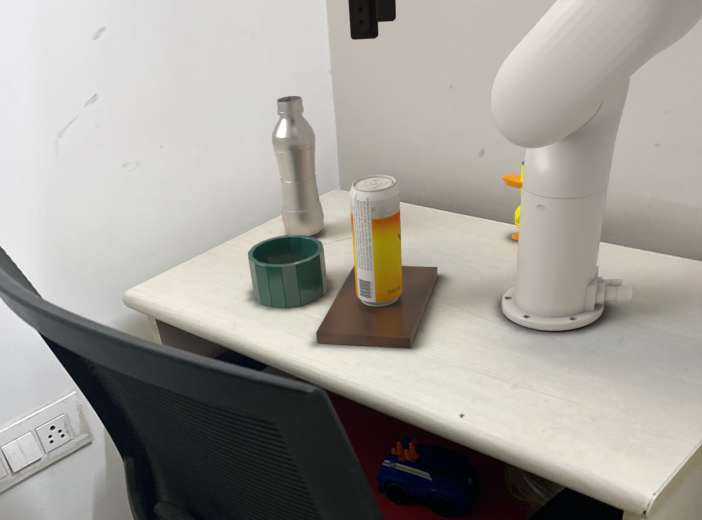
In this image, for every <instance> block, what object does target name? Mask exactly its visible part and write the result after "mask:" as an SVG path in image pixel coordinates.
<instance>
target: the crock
mask: <svg viewBox="0 0 702 520" xmlns="http://www.w3.org/2000/svg"><path fill="white" fill-rule="evenodd" d="M247 260H248V265H249V271H250V277H251V283H252V289H253V295H254V299H255V300H256V301H257V302H258V303H260V305H263V306H266V307H270V308H276V309H277V308H278V309H288V308H295V307H301V306H302V307H303V306H305V305H308V304H311V303H314V302H317V300H319V299H320V298H322V297H323V296H324V295H325V294H326V292H327V291H328V288H329V287H328V277H327V269H326V268H327V267H326V258H325V249H324V243H323V242H322V241H321V240H319V239H317V237H314V236H305V235H290V234H286V235H279V236H274V237H271V238H270V237H269V238H267V239H264V240H262V241H260V242H258V243H256V244H254V245H253V246H252V247H250V249H249V250H248V251H247Z"/></svg>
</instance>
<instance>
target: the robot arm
mask: <svg viewBox="0 0 702 520" xmlns="http://www.w3.org/2000/svg"><path fill="white" fill-rule="evenodd" d="M347 3H348V18H349V32H350V38H351V40H355V41H357V40H359V41H360V40H375V39H377V38H378V37H379V23H386V22H394V21H395V20H396V19H397V5H396V4H397V2H396V0H347ZM701 19H702V0H556V1H555V2H554V3H553V4H552V5H551V6H550V7H549V9H548V10H547V11H546V12H545V13H544V15H542V16H541V18H540V19H539V20H538V21H537V22H536V23H535V25H534V26H533V27H532V28H531V29H530V30H529V31H528V33H527V34H526V35H525V36H524V37H523V38H522V39H521V40H520V41H519V42H518V43H517V45H516V46H515V47H513V50H511V52H510V53H509V54H508V55H507V57H506V58H505V59H504V61H503V62H502V64H501V65H500V67H499V68H498V72H497V73H496V75H495V78H494V81H493V84H492V89H491V93H490V110H491V111H490V112H491V116H492V120H493V123H494V125H495V127H496V128H497V131H498V132H499V133H500V135H502V137H504V139H505V140H507V141H508V142H509V143H511V144H513V145H515V146H517V147H521V148H524V149H525V148H526V151H525V155H524V161H525V162H524V172H523V183H522V196H521V195H520V204H521V210H520V224H519V229H518V232H519V238H518V240H517V254H516V268H515V284H514V285H513V286H511V287H510V288H509V289H507V290H506V291H505V292H504V294H503V295H502V297H501V304H500V305H501V306H500V307H501V311H502V313H503V315H504V316H505V317H506V319H509V320H510V321H512V322H513V323H515V324H517V325H520V326H522V327H525V328H528V329H531V330H532V329H533V330H538V331H548V332H549V331H550V332H556V331H559V332H560V331H569V330H575V329H579V328H582V327H586V326H588V325H590V324H592V323H594V322H595V321H597V320H598V319H600V317H601V316H602V314H603V312H604V308H605V302H615V303H629V304H630V303H632V299H633V293H634V286H630V285H623V279H622V278H619V279H618V278H611V279H607V278H603V276H599V266H598V259H599V253H600V244H601V239H602V238H601V237H602V231H603V225H604V216H605V209H606V203H607V195H608V187H609V183H610V176H611V170H612V169H611V168H612V164H613V157H614V150H615V146H616V141H617V136H618V131H619V129H620V128H619V127H620V124H621V118H622V116H623V113H624V110H625V109H624V108H625V106H626V105H625V104H626V101H627V97H628V93H629V89H630V83H631V82H630V81H631V77H632V76H633V75H635V73H636V72H637V71H638V70H639V69H641V68H642V67H643V66H644V65H645V64H646V63H648V61H650V60H651V59H653V57H655V56H657V55H658V54H660V53H661V52H663V51H665V50H666V49H668V48H670V47H671V46H672V45H674V44H675V43H677V42H678V41H680V40H681V39H682V38H683V37H684V36H686V35H687V34H688V33H689V32H690V31H691V30H692V29H693V28H694V27H695V26H696V25H697V24H698V22H699V21H701Z"/></svg>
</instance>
